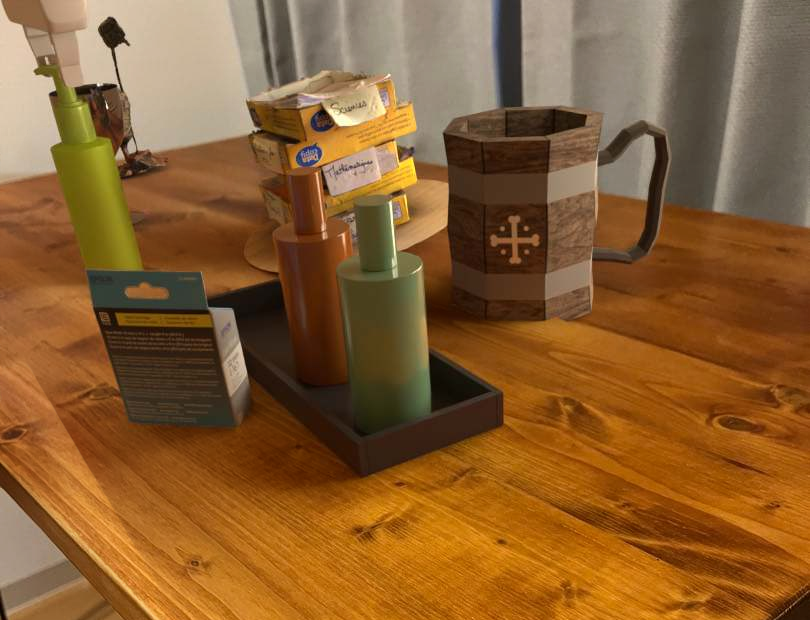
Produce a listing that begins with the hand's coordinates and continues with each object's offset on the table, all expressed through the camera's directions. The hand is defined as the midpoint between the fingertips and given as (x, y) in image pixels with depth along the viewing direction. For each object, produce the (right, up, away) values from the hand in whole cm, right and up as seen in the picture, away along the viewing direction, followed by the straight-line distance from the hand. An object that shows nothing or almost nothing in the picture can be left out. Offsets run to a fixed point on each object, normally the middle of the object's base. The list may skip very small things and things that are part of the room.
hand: (62, 81), depth 84 cm
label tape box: (+17, -35, -18) cm, 44 cm away
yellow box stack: (+27, -11, +14) cm, 32 cm away
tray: (+27, -31, -14) cm, 44 cm away
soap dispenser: (+1, -15, +11) cm, 19 cm away
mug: (+47, -22, -4) cm, 52 cm away
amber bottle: (+27, -31, -15) cm, 43 cm away
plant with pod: (-8, +11, +48) cm, 50 cm away
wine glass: (-4, -3, +28) cm, 28 cm away
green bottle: (+32, -35, -22) cm, 53 cm away
